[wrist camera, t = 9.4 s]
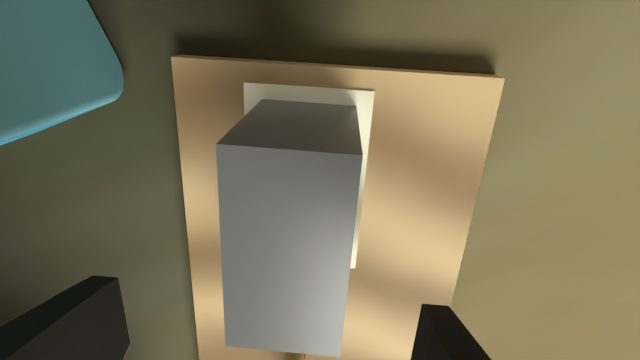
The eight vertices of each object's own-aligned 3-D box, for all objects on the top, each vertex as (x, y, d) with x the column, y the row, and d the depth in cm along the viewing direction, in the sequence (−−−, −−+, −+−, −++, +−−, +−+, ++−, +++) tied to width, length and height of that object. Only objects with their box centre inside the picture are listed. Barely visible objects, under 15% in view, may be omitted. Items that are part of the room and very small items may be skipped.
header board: (418, 410, 23) (430, 470, 20) (208, 390, 24) (188, 446, 21) (495, 74, 16) (533, 89, 12) (180, 54, 16) (141, 63, 13)
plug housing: (341, 253, 18) (340, 357, 13) (261, 246, 18) (225, 346, 13) (356, 106, 15) (362, 155, 10) (262, 99, 15) (215, 144, 10)
